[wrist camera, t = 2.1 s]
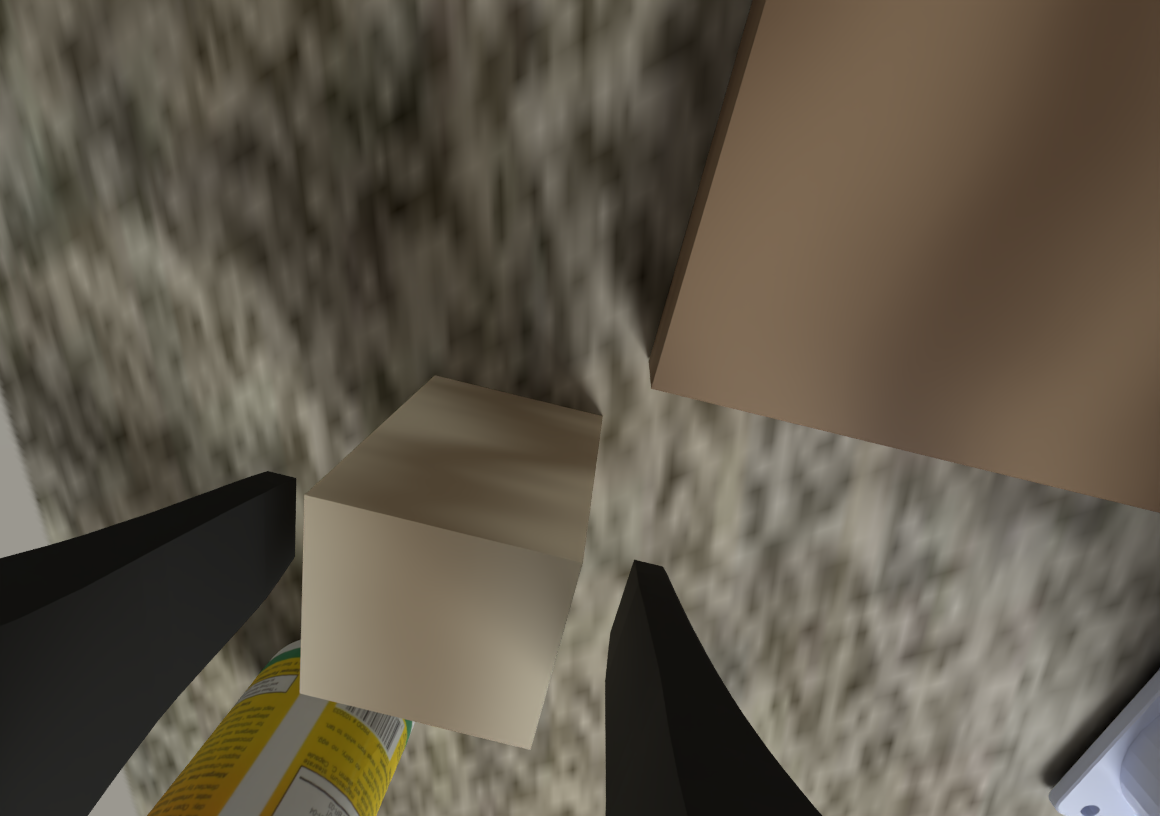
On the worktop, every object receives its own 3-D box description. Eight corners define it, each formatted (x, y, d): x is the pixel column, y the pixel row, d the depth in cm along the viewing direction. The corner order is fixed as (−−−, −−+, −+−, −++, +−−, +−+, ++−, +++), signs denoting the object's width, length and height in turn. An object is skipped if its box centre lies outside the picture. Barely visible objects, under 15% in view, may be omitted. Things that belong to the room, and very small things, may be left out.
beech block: (603, 415, 14) (582, 562, 8) (567, 552, 16) (530, 749, 10) (435, 374, 14) (304, 495, 8) (417, 516, 16) (299, 693, 10)
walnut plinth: (1578, -160, 9) (1838, -257, 7) (1122, 476, 13) (1202, 523, 11) (849, -336, 9) (908, -481, 7) (648, 360, 13) (651, 388, 11)
